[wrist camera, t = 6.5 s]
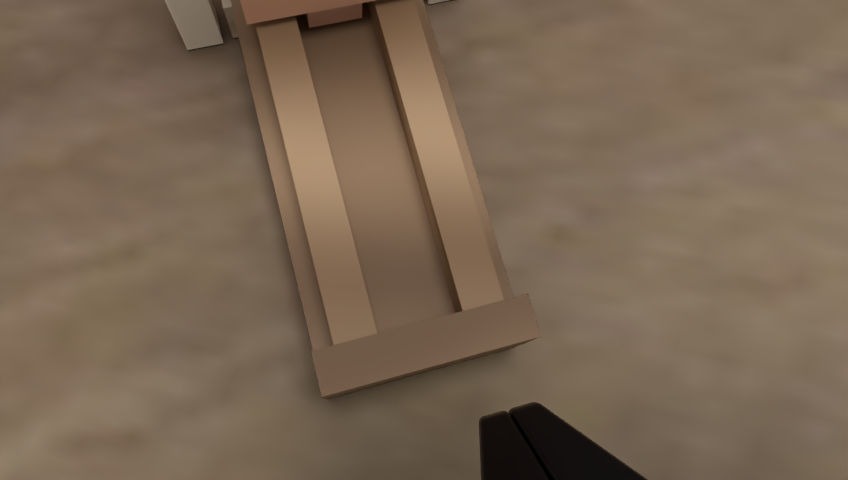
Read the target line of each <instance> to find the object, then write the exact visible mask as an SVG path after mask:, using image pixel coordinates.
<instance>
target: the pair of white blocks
mask: <svg viewBox="0 0 848 480" xmlns="http://www.w3.org/2000/svg"><path fill="white" fill-rule="evenodd" d="M443 1H449V0H427V3H428V4H433V3H438V2H443ZM165 2H166V5H167V7H168V9H169V11H170V13H171V15H172V18H173V20H174V22H175V24H176V26H177V28H178V31H179V33H180V35H181V37H182V39H183V41H184V43H185V46H186V48H187V50H191V49H197V48H202V47H207V46H212V45H218V44H223V39H222V34H221V30H220V26H219V21H218V17H217V13H216V10H215V7H214V4H213V1H212V0H165Z"/></svg>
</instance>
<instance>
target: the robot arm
mask: <svg viewBox="0 0 848 480" xmlns="http://www.w3.org/2000/svg"><path fill="white" fill-rule="evenodd" d="M479 437H480V462H481V480H647V479H646V478H644V477H643V476H641V475H640V474H639V473H637V472H636V471H634V470H633V469H632V468H630V467H629V466H627V465H626V464H625V463H623V462H622V461H620V460H619V459H617V458H616V457H615V456H613V455H612V454H610V453H609V452H608V451H606V450H605V449H603V448H602V447H600V446H599V445H598V444H596V443H595V442H593V441H592V440H591V439H589V438H588V437H586V436H585V435H583V434H582V433H581V432H579V431H578V430H576V429H575V428H574V427H572V426H571V425H569V424H568V423H566V422H565V421H564V420H562V419H561V418H559V417H558V416H557V415H555V414H554V413H552V412H551V411H550V410H548V409H547V408H545V407H544V406H542V405H541V404H539V403H536V402H532V403H528V404H525V405H521V406H518V407H514V408H512V409H510V411H509V413H508V412H506V411H501V412H497V413H494V414H490V415H487V416H483V417H481V418H480V420H479Z"/></svg>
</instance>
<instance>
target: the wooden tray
mask: <svg viewBox="0 0 848 480" xmlns="http://www.w3.org/2000/svg"><path fill="white" fill-rule="evenodd" d="M221 2H222V6H223V10H224V13H225V16H226V19H227V22H228V25H229V28H230V31H231V34H232V37H233V38H237V37H239V41H240V45H241V49H242V53H243V57H244V62H245V66H246V70H247V74H248V79H249V83H250V87H251V91H252V95H253V100H254V104H255V108H256V112H257V117H258V121H259V125H260V129H261V133H262V138H263V142H264V146H265V150H266V154H267V159H268V163H269V167H270V171H271V176H272V180H273V184H274V188H275V192H276V197H277V201H278V205H279V209H280V214H281V218H282V222H283V226H284V230H285V235H286V239H287V243H288V247H289V251H290V256H291V260H292V264H293V268H294V273H295V277H296V281H297V285H298V289H299V294H300V298H301V302H302V306H303V311H304V315H305V319H306V323H307V327H308V332H309V336H310V340H311V344H312V349H313V351H311V354H312V358H313V363H314V367H315V371H316V375H317V379H318V384H319V388H320V392H321V396H322V397H323V398H325V399H329V398H333V397H336V396H340V395H344V394H347V393H351V392H354V391H358V390H362V389H365V388H369V387H372V386H376V385H380V384H383V383H387V382H391V381H394V380H398V379H401V378H405V377H409V376H412V375H416V374H420V373H423V372H427V371H430V370H434V369H438V368H441V367H445V366H448V365H452V364H456V363H459V362H463V361H467V360H470V359H474V358H477V357H481V356H485V355H488V354H492V353H496V352H499V351H503V350H506V349H510V348H514V347H516V346H519V345H521V344H524V343H526V342H529V341H531V340H534V339H536V338H539V337H541V334H540V331H539V328H538V324H537V321H536V318H535V315H534V311H533V308H532V305H531V302H530V299H529V295H528V294H525V295H521V296H517V297H513V294H512V291H511V287H510V284H509V281H508V277H507V274H506V271H505V267H504V264H503V261H502V258H501V254H500V251H499V248H498V244H497V241H496V238H495V235H494V231H493V228H492V225H491V221H490V218H489V215H488V211H487V208H486V205H485V202H484V198H483V195H482V192H481V188H480V185H479V182H478V179H477V175H476V172H475V169H474V165H473V162H472V159H471V155H470V152H469V149H468V146H467V142H466V139H465V136H464V132H463V129H462V126H461V123H460V119H459V116H458V113H457V109H456V106H455V103H454V100H453V96H452V93H451V90H450V86H449V83H448V80H447V76H446V73H445V70H444V67H443V63H442V60H441V57H440V53H439V50H438V47H437V44H436V40H435V37H434V34H433V30H432V27H431V24H430V20H429V17H428V14H427V11H426V7H425V4H424V1H423V0H376V1H371V2H365V3H362V18H359V19H354V20H348V21H343V22H338V23H333V24H327V25H322V26H317V27H312V28H309V25H308V21H307V17H306V14H301V15H296V16H290V17H285V18H280V19H274V20H269V21H264V22H258V23H253V24H248V25H247V23H246V19H245V16H244V12H243V9H242V5H241V2H240V0H221Z"/></svg>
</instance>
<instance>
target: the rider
mask: <svg viewBox="0 0 848 480" xmlns="http://www.w3.org/2000/svg"><path fill="white" fill-rule="evenodd" d="M371 1H376V0H240V2H241V5H242V9H243V12H244V16H245V19H246V23H247V25H248V24H253V23H258V22H264V21H269V20H274V19H280V18H285V17H290V16H296V15H301V14H306V17H307V21H308V25H309V28H312V27H317V26H322V25H327V24H333V23H338V22H343V21H348V20H354V19H359V18H362V3H365V2H371Z"/></svg>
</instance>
